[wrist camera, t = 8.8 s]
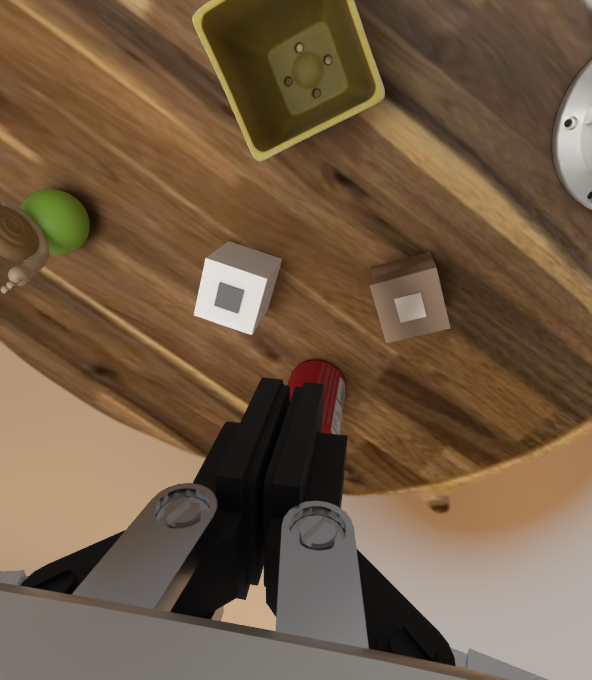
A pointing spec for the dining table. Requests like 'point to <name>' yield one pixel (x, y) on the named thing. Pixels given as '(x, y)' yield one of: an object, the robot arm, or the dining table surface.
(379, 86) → the flower pot
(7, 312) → the dining table surface
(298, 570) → the robot arm
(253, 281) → the white block
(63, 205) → the snail figurine
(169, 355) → the dining table surface
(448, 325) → the walnut block
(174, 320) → the dining table surface
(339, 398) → the soda can
